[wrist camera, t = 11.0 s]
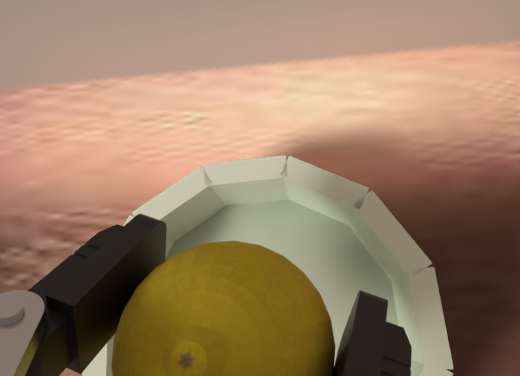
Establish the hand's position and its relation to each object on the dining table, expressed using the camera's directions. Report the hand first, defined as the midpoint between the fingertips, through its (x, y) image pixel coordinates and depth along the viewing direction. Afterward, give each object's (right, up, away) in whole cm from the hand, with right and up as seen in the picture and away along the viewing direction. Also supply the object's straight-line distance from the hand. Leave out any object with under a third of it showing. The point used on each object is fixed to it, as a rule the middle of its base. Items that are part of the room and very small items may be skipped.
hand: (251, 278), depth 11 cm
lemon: (0, -3, +4) cm, 5 cm away
